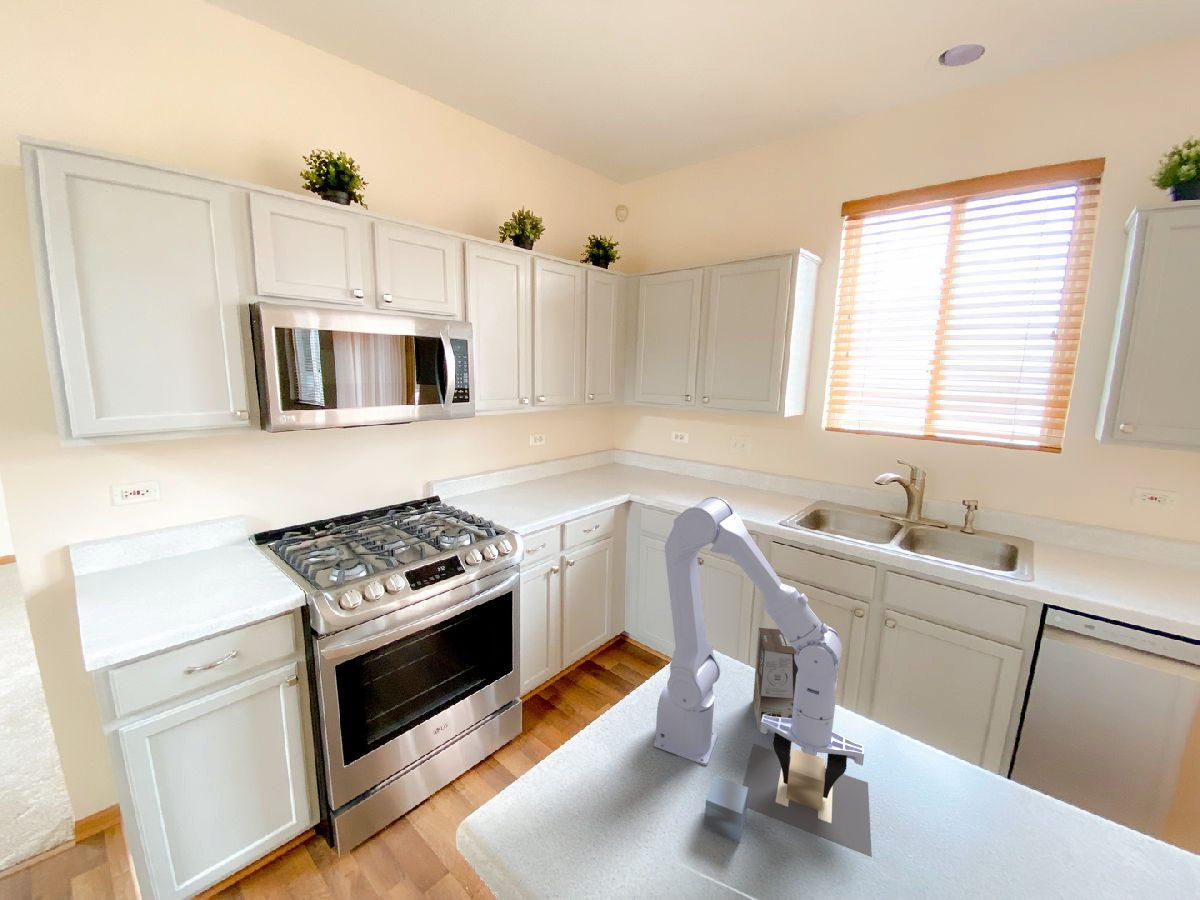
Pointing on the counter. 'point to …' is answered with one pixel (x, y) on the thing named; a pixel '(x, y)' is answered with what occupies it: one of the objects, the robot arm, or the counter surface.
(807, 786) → the oak block
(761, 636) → the coffee box
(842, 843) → the letter mat
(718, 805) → the slate blue cube
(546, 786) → the counter surface
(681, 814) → the counter surface
